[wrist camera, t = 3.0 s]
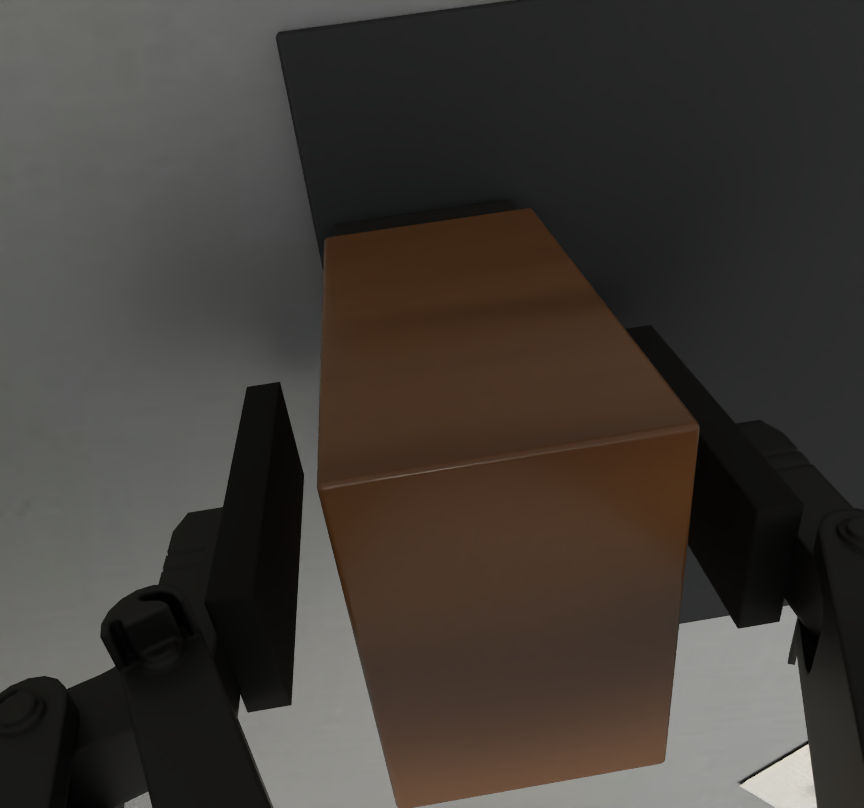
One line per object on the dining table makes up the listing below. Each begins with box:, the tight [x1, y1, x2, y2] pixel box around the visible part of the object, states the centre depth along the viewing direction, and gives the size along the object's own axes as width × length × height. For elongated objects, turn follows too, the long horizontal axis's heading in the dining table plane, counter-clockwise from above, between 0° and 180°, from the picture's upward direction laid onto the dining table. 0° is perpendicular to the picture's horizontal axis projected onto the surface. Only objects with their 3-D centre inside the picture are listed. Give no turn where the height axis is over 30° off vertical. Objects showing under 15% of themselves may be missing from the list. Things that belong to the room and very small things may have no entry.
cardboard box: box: [317, 200, 699, 808], centre depth 16 cm, size 8×5×11 cm, turn 6°
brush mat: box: [276, 0, 864, 624], centre depth 23 cm, size 22×26×1 cm
